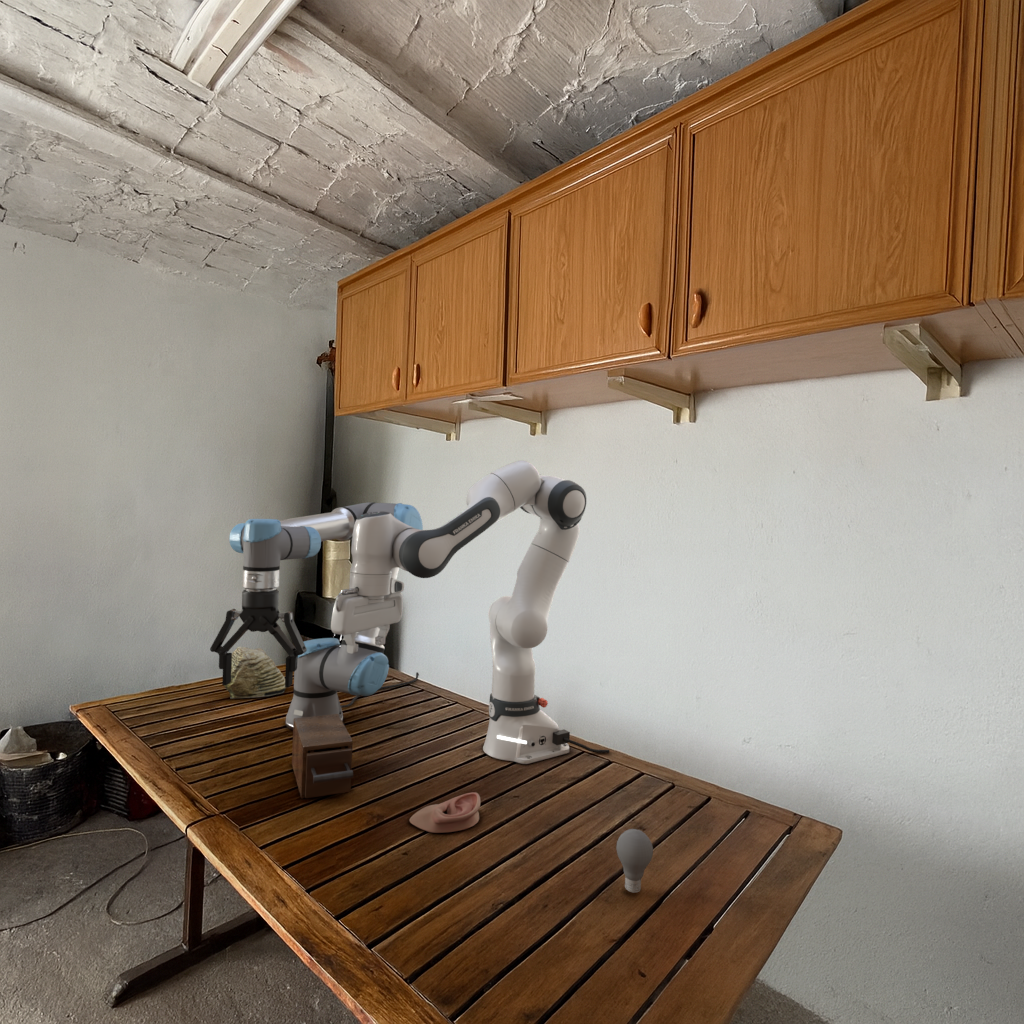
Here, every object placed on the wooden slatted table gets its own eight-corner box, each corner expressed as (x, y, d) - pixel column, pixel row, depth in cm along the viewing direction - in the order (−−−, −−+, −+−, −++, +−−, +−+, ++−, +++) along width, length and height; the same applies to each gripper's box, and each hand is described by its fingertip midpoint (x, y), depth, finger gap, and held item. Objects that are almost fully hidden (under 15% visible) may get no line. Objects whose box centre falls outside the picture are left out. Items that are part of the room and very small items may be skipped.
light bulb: (610, 879, 108) (613, 822, 108) (644, 879, 109) (647, 822, 109) (619, 902, 102) (622, 840, 102) (655, 901, 103) (658, 840, 103)
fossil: (218, 695, 195) (220, 647, 195) (278, 685, 208) (279, 640, 207) (228, 703, 189) (230, 653, 188) (289, 692, 201) (290, 645, 201)
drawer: (355, 804, 129) (357, 760, 129) (309, 811, 125) (311, 766, 125) (336, 760, 150) (338, 723, 150) (296, 766, 146) (297, 727, 146)
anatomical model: (404, 808, 122) (424, 782, 133) (403, 828, 122) (423, 801, 133) (470, 818, 119) (485, 791, 131) (469, 838, 119) (484, 810, 131)
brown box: (350, 791, 137) (352, 741, 137) (301, 798, 133) (303, 747, 132) (336, 758, 153) (338, 713, 153) (291, 764, 149) (293, 718, 149)
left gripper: (195, 589, 135) (192, 687, 136) (312, 593, 136) (309, 691, 136) (211, 584, 143) (208, 677, 143) (322, 588, 143) (319, 681, 144)
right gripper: (349, 592, 127) (345, 660, 128) (408, 583, 146) (405, 642, 146) (325, 588, 130) (321, 655, 130) (386, 580, 149) (383, 638, 149)
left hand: (257, 684), depth 140 cm, fingers open, 13 cm apart
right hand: (366, 648), depth 138 cm, fingers open, 8 cm apart
